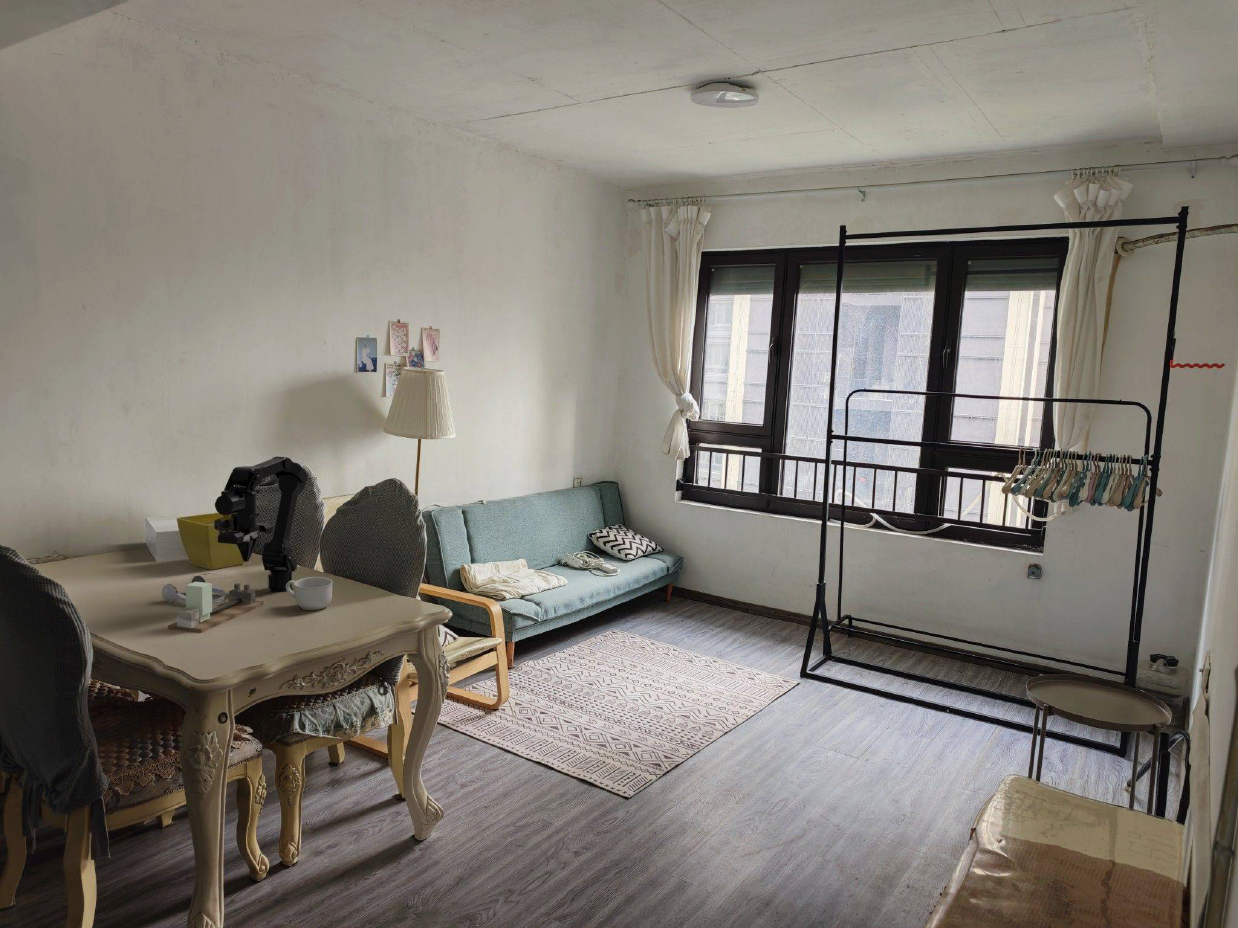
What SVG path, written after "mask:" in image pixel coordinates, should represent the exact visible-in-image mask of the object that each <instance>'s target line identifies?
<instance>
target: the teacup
mask: <svg viewBox="0 0 1238 928" xmlns="http://www.w3.org/2000/svg"><path fill="white" fill-rule="evenodd" d="M290 584H292V586H294V590H291V589H290ZM286 590H287V591H286V592H287V593H288V594H289V595H290V596H291V597H293V598H294V600H295V604H297V605H298V606H299V607H300V608H301V609H303V610H306V611H317V610H322V609H324V608H325V607H326V606H327V605H329V604H330V603H331V601H332V597H333V579H331V578H328V577H324V576H323V577H321V576H310V577H303V578H300V579H298V580H293V579H292V580H291V581H289V582H288V583H287V584H286Z"/></svg>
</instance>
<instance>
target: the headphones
mask: <svg viewBox="0 0 1238 928" xmlns="http://www.w3.org/2000/svg"><path fill="white" fill-rule="evenodd" d="M189 581H190V582H191V583H193V582H204V583H207V580H206V579H205V578H204V577H203V576H201V575H193V578H191V579H190V580H189ZM191 583H190V584H191ZM212 593H215V594H218V595H221V597H218V598H215V599H213V598H212V605H214V603H215V604H218V603H220V602H219V601H221V602H223V601H224V600H225V597H226V591H225V590H224V588H221V587H218V586H216V585H212ZM161 596H162V597H163V599H164V601H166V603H173V602H175V601H176V600H177V601H179V602H180V603H183V604H186V595H184V594H183V593H179V591H178V589H177V587H176V586H175V585H173V584H171V583H167V584H166V583H165V585H163V587H162V589H161ZM222 600H223V601H222Z"/></svg>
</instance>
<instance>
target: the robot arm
mask: <svg viewBox="0 0 1238 928" xmlns="http://www.w3.org/2000/svg"><path fill="white" fill-rule="evenodd" d="M273 475H274V476H275V478H277V480H278V481H277V486H278V488H279V491H280V499H279V503H278V509H277V514H276V519H275V524H274V529H273V525H272V524H271V523H268V522H257V517H260V512H259V511H257V494H259V493H261V490H260V489H259V488H258V486H259V485H260V484H262V483H263V480H264V479H266V478H268V477H270V476H273ZM308 478H309V475H308V473H307V471H306V470H305V469H304V467H302V466H301V465H299V464H298V463H296V462H294V461H292V459H291V458H290V457H288V456H273V457H272V458H270V459H267V460H266V461H262V462H260V463H257V464H254V465H251V466H250V465H248V466H246V465H245V466H236V467H234V468H233V469H232V471H231V473H230V474H229V477H228V479H227V482H226V484H225V486H224V488H223V490H221V492H220V495H219V496H218V497H217V498H216V499H215V502H214V508H215V510H216V513H219V514H221V515H228V514H232V513H233V514H232V515H231V519H228V520H224V519H223V518H220V519H217V520H215V522H214V528H215V529H216V530H219V533H220V534H219V535H218V536H217V542H218V543H227V544H236V545H237V546H238V548H239V550H240V553H241V556H242V558H243V561H244V563H248V562H249V561H250V559H251V557H252V555H253V553H254V551H255V550H256V547H257V545H258V544H259V542H260V540H262V536H258V533H265V535H269V534H272V538H271V539H270V540H269V541H268V542H266V541H265V543H264V544H263V550H262V553H261V562H262V566H263V568H264V571H265V572H266V571H268V573H269V574H267V588H268V589H269V591H270V592H271V593H272V592H273V593H277V592H287V590H286V584H287V583H288V582H289V581H291V580H293V572H296V570H297V568H298V565H299V562H297V561H296V559H295V558H294V556H293V547H292V545H291V543H290V538H291V537H290V536H291V532H292V526H293V522H294V516H295V512H296V511H295V510H296V505H297V501H298V497H299V495H300V494H301V493H302V492H303V491H304V490H305V487H306V484H307V481H308ZM229 530H230V531H229ZM223 531H226V532H223ZM234 531H236V532H234ZM290 589H291V590H292V591H294V588H293V584H290Z"/></svg>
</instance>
